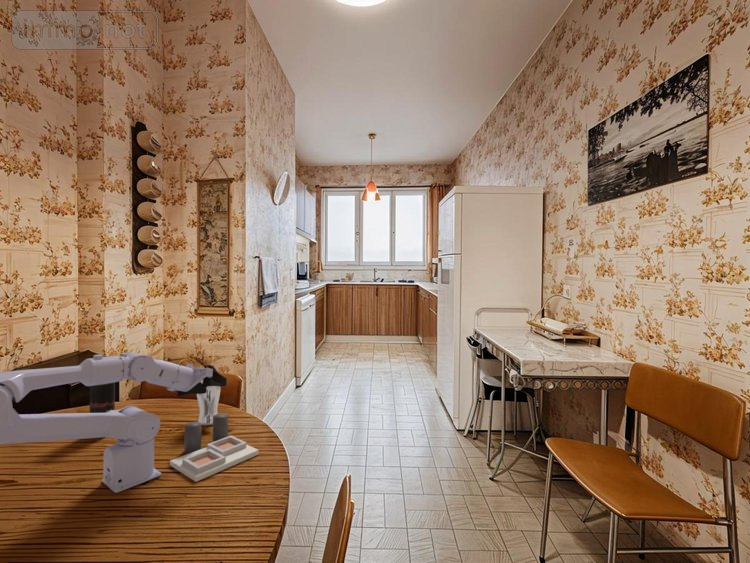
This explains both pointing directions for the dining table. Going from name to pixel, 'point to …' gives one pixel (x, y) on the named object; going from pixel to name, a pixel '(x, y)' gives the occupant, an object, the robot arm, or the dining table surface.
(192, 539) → the dining table surface
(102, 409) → the deodorant
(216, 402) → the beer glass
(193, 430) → the peg
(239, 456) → the board
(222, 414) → the peg
